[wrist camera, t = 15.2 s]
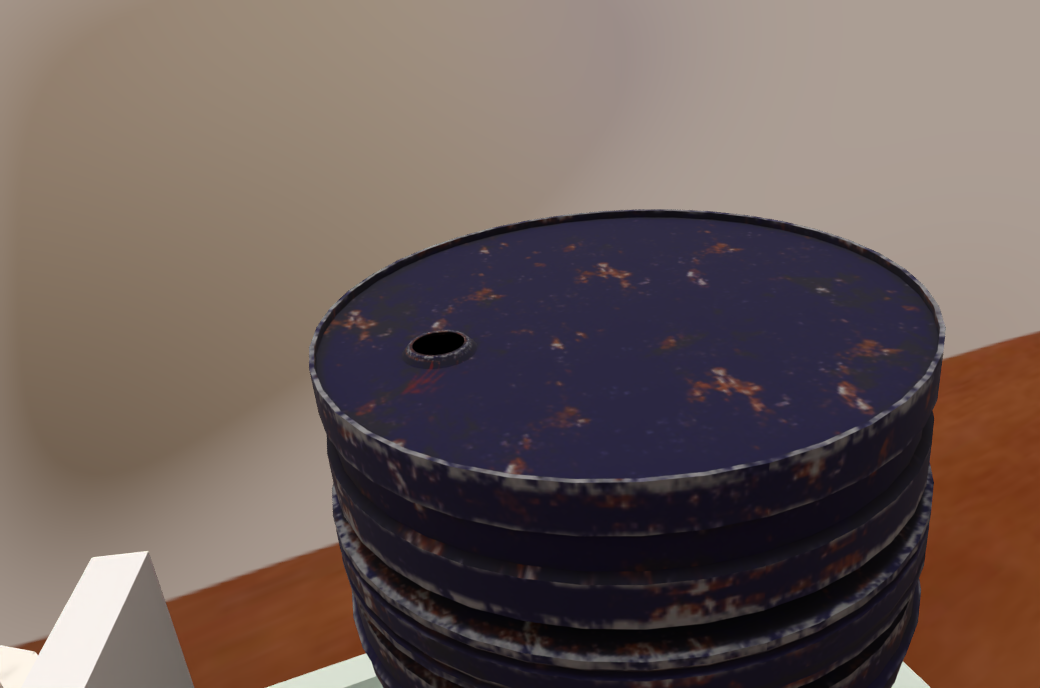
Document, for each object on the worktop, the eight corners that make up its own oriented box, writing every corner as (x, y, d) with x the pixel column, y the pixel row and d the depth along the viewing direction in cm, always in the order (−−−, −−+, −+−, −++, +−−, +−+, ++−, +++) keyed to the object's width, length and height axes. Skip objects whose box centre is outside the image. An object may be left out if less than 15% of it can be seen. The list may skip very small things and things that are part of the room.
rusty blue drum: (735, 684, 27) (745, 179, 20) (978, 1049, 18) (1136, 376, 11) (395, 788, 24) (280, 262, 18) (485, 1258, 16) (330, 580, 9)
